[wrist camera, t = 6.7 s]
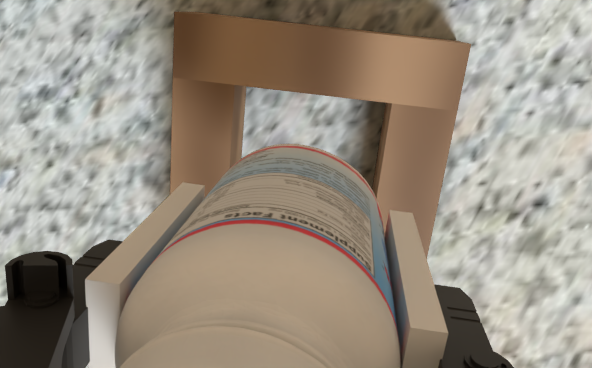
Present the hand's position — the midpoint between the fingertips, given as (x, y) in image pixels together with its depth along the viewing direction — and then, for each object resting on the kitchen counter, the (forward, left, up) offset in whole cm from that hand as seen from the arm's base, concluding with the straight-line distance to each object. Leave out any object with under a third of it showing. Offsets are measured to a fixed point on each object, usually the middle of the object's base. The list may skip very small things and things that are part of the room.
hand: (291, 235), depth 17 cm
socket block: (0, 0, -11) cm, 11 cm away
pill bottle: (0, 0, -2) cm, 2 cm away
